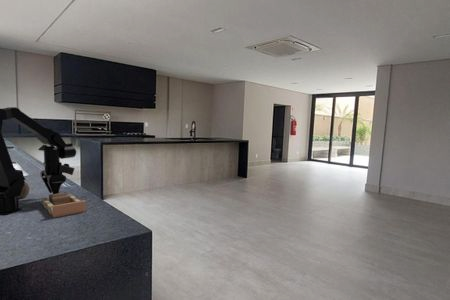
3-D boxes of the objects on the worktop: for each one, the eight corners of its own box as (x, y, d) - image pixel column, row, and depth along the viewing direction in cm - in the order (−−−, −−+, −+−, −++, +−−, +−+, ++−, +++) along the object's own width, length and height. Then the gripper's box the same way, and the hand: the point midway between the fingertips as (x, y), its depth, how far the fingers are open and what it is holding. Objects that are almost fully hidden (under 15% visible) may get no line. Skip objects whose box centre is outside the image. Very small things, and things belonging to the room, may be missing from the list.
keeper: (70, 205, 114) (70, 196, 114) (53, 208, 110) (53, 198, 109) (65, 201, 120) (64, 192, 119) (49, 204, 115) (48, 194, 115)
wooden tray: (85, 210, 108) (84, 203, 107) (52, 216, 100) (52, 209, 100) (70, 199, 122) (70, 193, 122) (41, 204, 114) (41, 198, 114)
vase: (33, 195, 127) (32, 177, 126) (21, 200, 120) (19, 180, 119) (19, 195, 127) (18, 176, 126) (6, 199, 120) (5, 179, 120)
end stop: (86, 211, 107) (86, 201, 106) (53, 217, 99) (53, 206, 99) (85, 210, 108) (84, 200, 107) (52, 216, 100) (52, 205, 100)
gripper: (78, 160, 119) (79, 195, 121) (66, 156, 132) (67, 188, 134) (48, 163, 111) (50, 200, 113) (39, 158, 125) (40, 191, 126)
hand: (53, 194), depth 122 cm, fingers open, 9 cm apart
